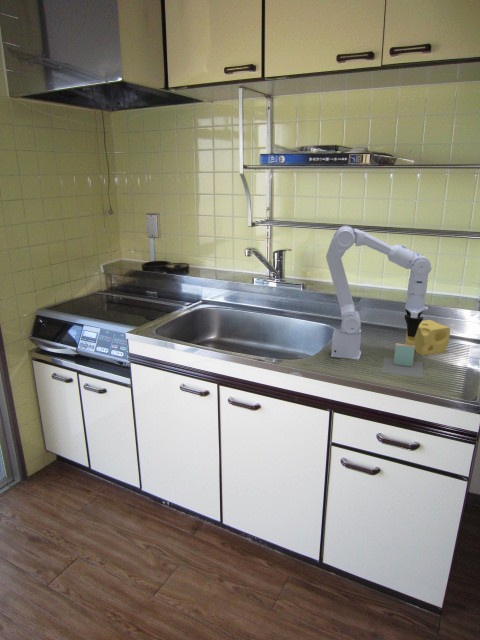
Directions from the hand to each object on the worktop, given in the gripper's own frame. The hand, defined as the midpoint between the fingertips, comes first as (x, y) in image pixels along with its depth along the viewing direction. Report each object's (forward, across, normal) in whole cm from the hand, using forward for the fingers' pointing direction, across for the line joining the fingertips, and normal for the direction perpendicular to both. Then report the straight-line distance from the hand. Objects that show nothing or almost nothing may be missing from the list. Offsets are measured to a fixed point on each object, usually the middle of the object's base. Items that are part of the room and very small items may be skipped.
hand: (411, 332), depth 152 cm
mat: (+10, -8, +2) cm, 13 cm away
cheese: (+10, +12, -5) cm, 16 cm away
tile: (+9, -6, +2) cm, 11 cm away
